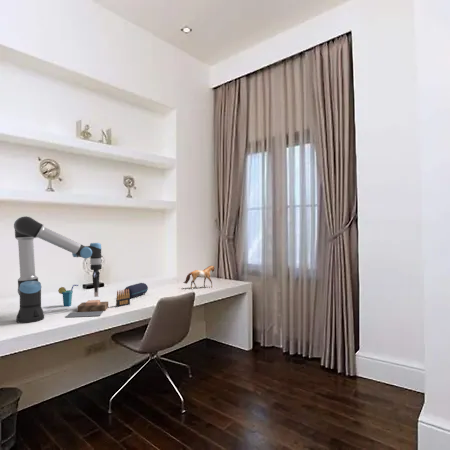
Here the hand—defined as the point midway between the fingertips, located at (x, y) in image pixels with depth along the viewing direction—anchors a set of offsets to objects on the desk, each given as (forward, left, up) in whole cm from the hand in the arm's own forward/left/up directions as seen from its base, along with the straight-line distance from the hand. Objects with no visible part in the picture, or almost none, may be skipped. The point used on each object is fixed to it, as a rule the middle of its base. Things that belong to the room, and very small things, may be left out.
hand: (96, 296), depth 247 cm
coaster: (0, -10, -3) cm, 11 cm away
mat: (-3, -23, -7) cm, 24 cm away
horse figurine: (+81, +66, -8) cm, 104 cm away
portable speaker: (+25, +34, -8) cm, 43 cm away
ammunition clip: (+19, 0, -8) cm, 20 cm away
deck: (0, -9, -7) cm, 12 cm away
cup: (-21, +8, -8) cm, 24 cm away
